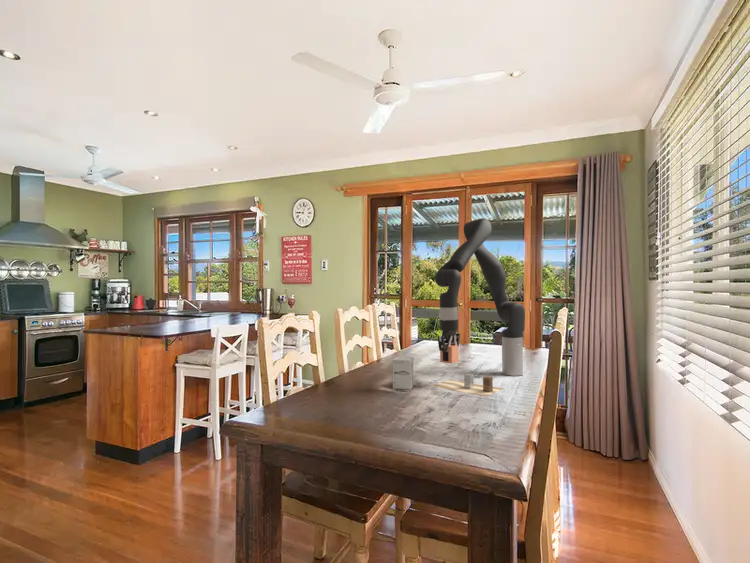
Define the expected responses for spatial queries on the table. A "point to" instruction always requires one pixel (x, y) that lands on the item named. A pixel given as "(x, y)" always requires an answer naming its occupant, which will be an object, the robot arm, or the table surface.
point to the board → (459, 387)
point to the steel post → (468, 381)
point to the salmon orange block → (451, 354)
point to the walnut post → (488, 384)
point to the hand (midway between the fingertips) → (449, 359)
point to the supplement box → (402, 373)
